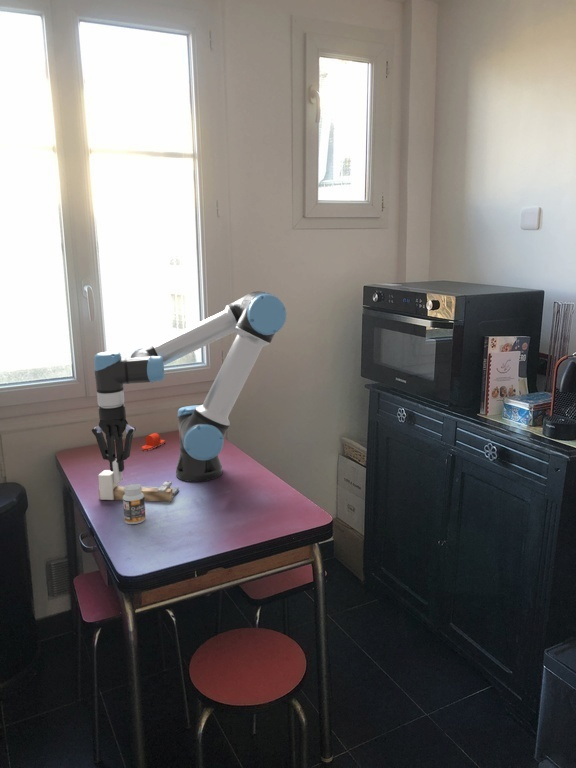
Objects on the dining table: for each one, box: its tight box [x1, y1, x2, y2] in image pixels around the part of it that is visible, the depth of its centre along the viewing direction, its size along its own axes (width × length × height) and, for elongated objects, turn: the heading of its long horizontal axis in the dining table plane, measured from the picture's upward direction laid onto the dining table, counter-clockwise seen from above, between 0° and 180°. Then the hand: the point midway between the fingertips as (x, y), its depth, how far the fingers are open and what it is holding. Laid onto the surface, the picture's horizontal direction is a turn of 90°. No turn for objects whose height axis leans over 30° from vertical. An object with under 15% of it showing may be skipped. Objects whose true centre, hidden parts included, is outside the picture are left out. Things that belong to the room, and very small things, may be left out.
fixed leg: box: [157, 480, 172, 492], centre depth 187 cm, size 2×7×2 cm, turn 173°
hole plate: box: [118, 485, 180, 497], centre depth 192 cm, size 22×4×1 cm, turn 83°
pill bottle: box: [122, 483, 147, 525], centre depth 171 cm, size 6×6×10 cm
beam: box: [98, 487, 174, 502], centre depth 187 cm, size 22×2×3 cm, turn 83°
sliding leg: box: [97, 469, 119, 501], centre depth 189 cm, size 4×8×8 cm, turn 173°
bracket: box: [141, 432, 166, 450], centre depth 236 cm, size 12×4×5 cm, turn 154°
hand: (118, 481), depth 187 cm, fingers closed
